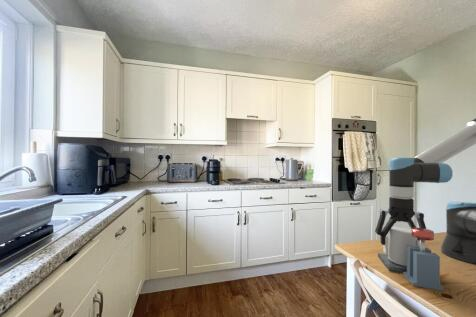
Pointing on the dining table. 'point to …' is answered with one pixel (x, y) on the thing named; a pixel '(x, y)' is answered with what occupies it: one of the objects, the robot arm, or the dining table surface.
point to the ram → (422, 236)
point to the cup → (400, 244)
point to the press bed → (391, 264)
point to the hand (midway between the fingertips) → (400, 254)
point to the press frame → (423, 268)
